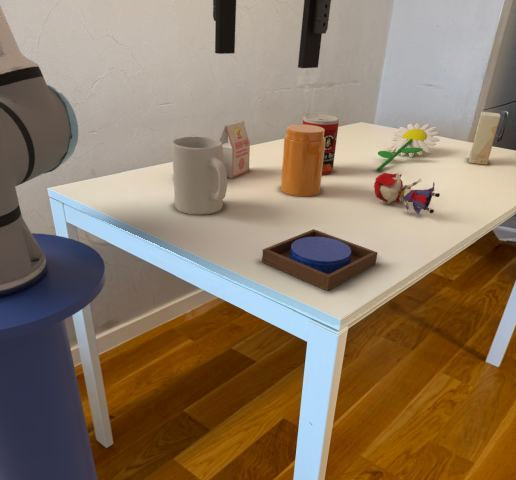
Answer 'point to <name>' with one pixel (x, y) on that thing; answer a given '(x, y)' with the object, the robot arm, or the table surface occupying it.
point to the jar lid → (321, 253)
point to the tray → (281, 260)
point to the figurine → (403, 192)
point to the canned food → (330, 135)
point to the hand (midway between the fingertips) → (263, 60)
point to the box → (484, 137)
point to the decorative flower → (410, 142)
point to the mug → (198, 175)
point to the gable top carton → (235, 149)
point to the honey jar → (303, 160)
